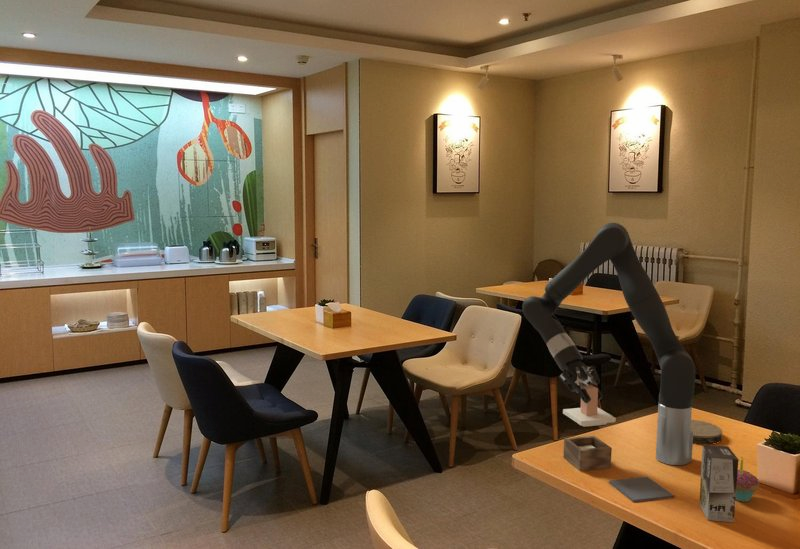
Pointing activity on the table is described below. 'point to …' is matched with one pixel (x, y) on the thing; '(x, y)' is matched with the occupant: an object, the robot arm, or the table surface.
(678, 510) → the table surface
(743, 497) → the cupcake
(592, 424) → the lid
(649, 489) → the mat
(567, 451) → the box
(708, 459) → the coffee box
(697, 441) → the tin can
